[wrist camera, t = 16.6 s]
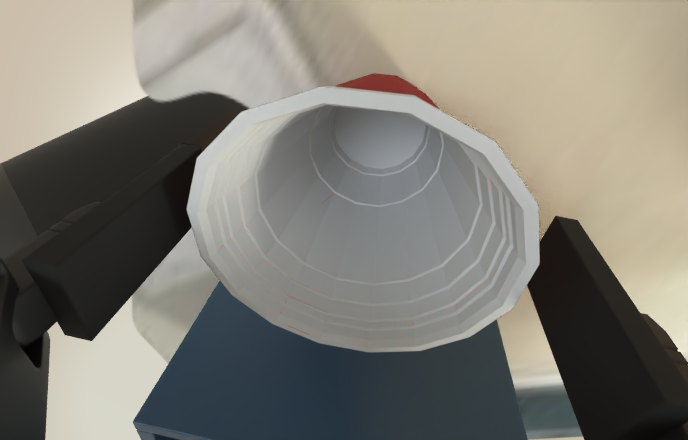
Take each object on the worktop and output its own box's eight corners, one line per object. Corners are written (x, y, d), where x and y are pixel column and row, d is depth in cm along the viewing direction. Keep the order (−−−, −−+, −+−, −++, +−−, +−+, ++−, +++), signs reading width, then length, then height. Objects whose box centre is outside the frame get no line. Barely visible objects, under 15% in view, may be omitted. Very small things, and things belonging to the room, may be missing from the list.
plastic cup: (276, 178, 23) (182, 323, 14) (306, -6, 17) (172, 19, 7) (428, 226, 24) (442, 399, 14) (514, 62, 17) (649, 172, 8)
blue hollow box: (252, 363, 37) (185, 530, 26) (247, 235, 27) (131, 422, 16) (425, 400, 36) (432, 590, 25) (488, 284, 26) (548, 518, 15)
